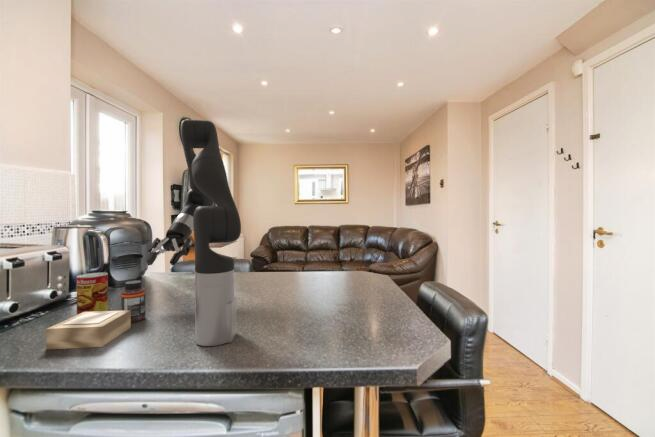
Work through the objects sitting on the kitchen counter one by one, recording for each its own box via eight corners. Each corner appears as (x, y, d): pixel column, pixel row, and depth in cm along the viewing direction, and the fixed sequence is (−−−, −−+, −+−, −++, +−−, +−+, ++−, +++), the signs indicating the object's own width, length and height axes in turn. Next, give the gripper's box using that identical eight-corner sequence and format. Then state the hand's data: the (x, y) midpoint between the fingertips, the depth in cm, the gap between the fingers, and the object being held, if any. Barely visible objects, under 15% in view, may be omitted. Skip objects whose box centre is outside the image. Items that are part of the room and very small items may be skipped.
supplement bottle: (125, 317, 89) (124, 280, 89) (147, 315, 91) (147, 278, 91) (118, 324, 83) (118, 284, 83) (142, 321, 85) (142, 283, 85)
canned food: (70, 314, 91) (69, 276, 91) (95, 307, 99) (95, 271, 99) (89, 316, 89) (89, 277, 89) (114, 308, 97) (113, 272, 97)
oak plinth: (130, 327, 81) (130, 309, 81) (102, 346, 69) (102, 325, 69) (83, 329, 80) (83, 311, 79) (46, 349, 68) (46, 327, 68)
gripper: (159, 221, 108) (135, 256, 96) (195, 221, 105) (174, 257, 94) (169, 234, 113) (147, 269, 102) (203, 234, 111) (184, 270, 100)
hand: (160, 263), depth 98 cm, fingers open, 8 cm apart
